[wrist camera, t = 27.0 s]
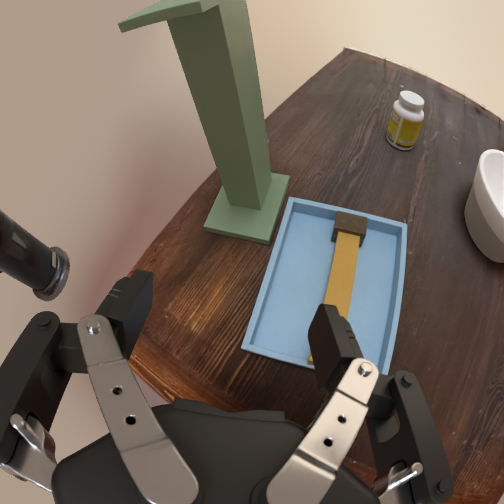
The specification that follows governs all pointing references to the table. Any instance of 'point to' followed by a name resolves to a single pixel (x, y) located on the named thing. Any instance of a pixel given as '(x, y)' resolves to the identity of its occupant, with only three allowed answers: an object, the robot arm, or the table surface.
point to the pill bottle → (405, 120)
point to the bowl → (487, 206)
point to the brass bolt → (343, 261)
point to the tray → (315, 281)
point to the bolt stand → (226, 109)
